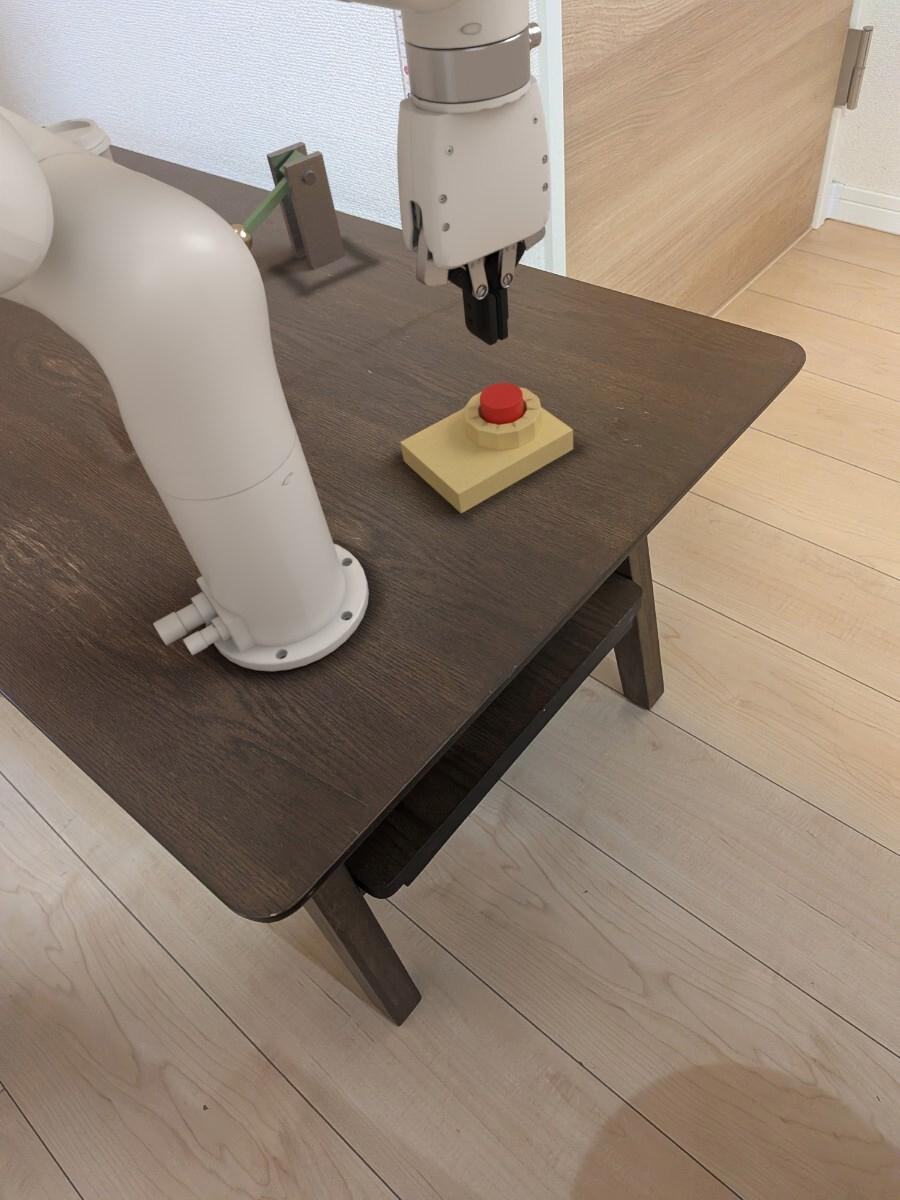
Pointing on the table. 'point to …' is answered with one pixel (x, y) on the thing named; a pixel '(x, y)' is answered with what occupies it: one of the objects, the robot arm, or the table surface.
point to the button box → (485, 451)
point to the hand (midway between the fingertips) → (488, 334)
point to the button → (501, 403)
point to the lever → (264, 207)
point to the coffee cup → (84, 135)
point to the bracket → (308, 206)
